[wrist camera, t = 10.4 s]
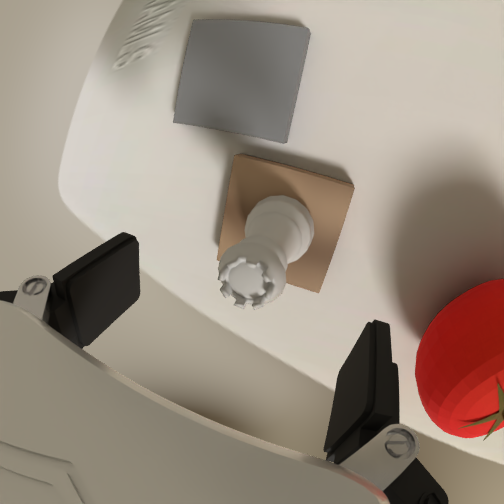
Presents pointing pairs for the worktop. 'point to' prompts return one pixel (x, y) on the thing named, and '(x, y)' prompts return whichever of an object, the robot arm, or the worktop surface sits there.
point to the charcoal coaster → (242, 77)
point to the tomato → (465, 363)
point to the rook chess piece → (266, 251)
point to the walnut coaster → (297, 187)
